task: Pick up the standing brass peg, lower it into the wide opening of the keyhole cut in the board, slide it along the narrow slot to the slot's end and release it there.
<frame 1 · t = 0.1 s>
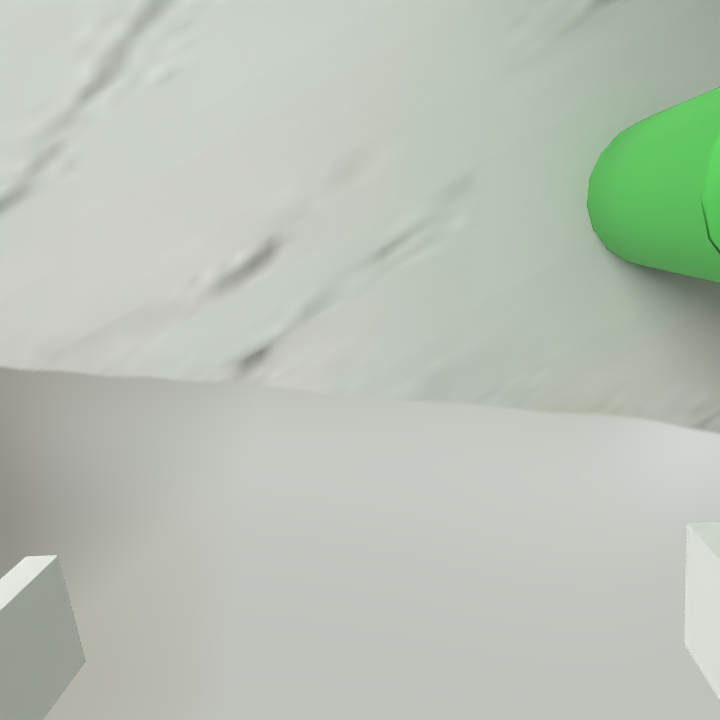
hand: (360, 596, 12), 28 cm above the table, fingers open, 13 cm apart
bottle: (655, 193, 36), on the table
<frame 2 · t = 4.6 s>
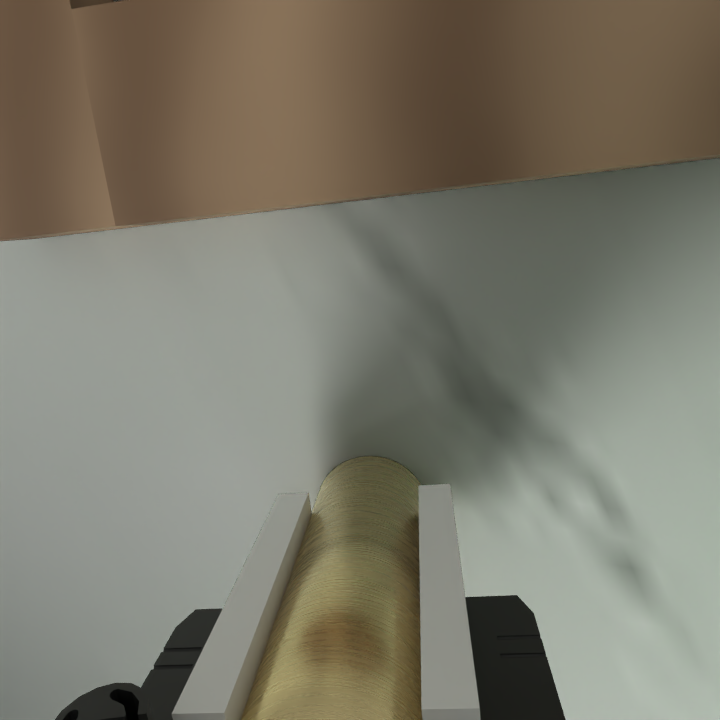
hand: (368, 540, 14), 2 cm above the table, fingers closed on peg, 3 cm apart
peg: (371, 507, 16), on the table, touching gripper
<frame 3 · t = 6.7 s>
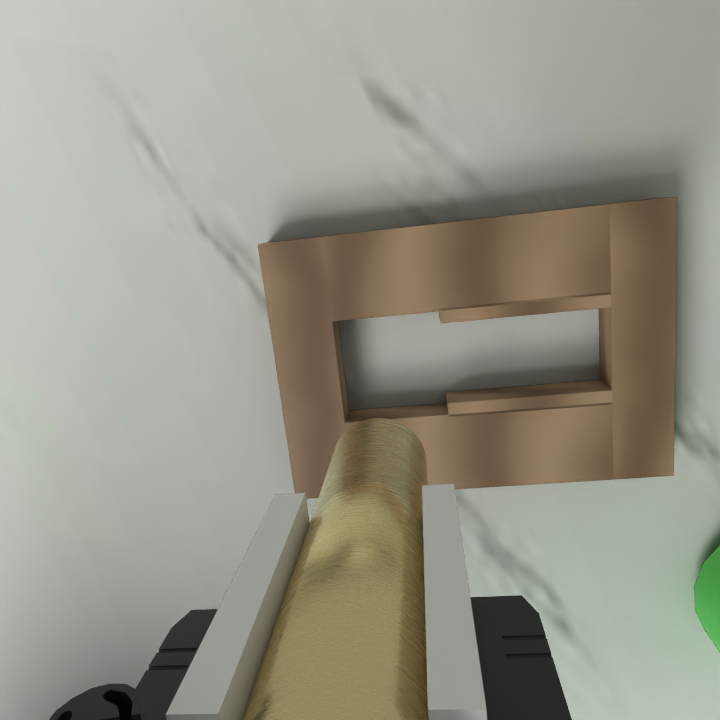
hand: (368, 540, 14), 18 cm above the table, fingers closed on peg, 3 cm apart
keyhole board: (465, 352, 32), on the table
peg: (379, 462, 19), point 14 cm above the table, touching gripper
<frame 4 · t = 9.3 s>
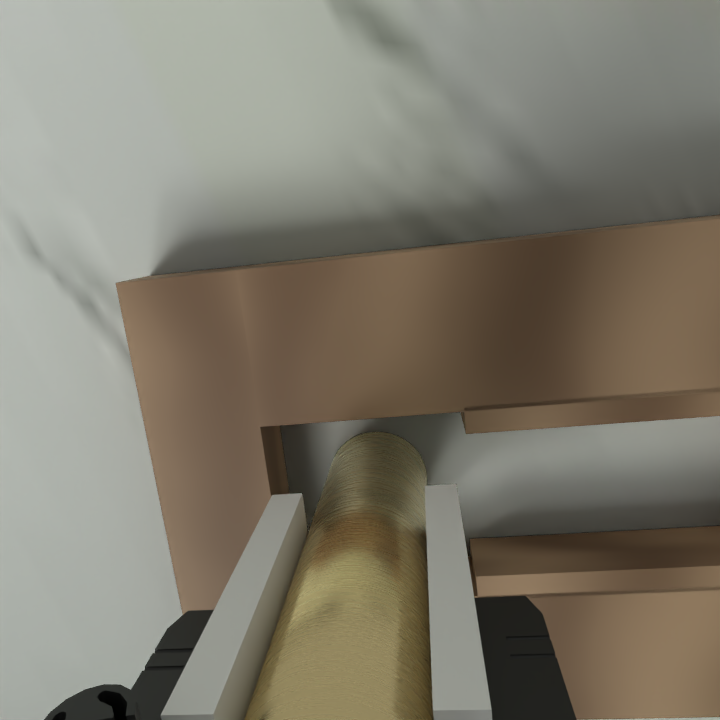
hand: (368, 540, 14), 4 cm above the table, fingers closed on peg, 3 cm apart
keyhole board: (506, 473, 18), on the table
peg: (378, 477, 18), resting in keyhole board, touching gripper
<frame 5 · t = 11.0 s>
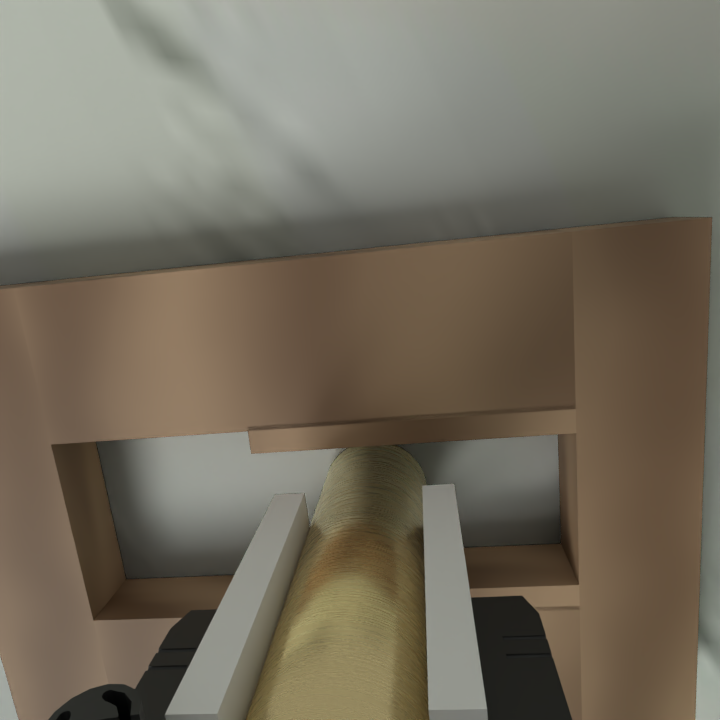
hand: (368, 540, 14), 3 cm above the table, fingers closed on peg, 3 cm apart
keyhole board: (319, 490, 18), on the table
peg: (375, 488, 17), resting in keyhole board, touching gripper
when the fingers open (3 cm above the table, at t = 12.6 s): peg stays where it is, resting in keyhole board.
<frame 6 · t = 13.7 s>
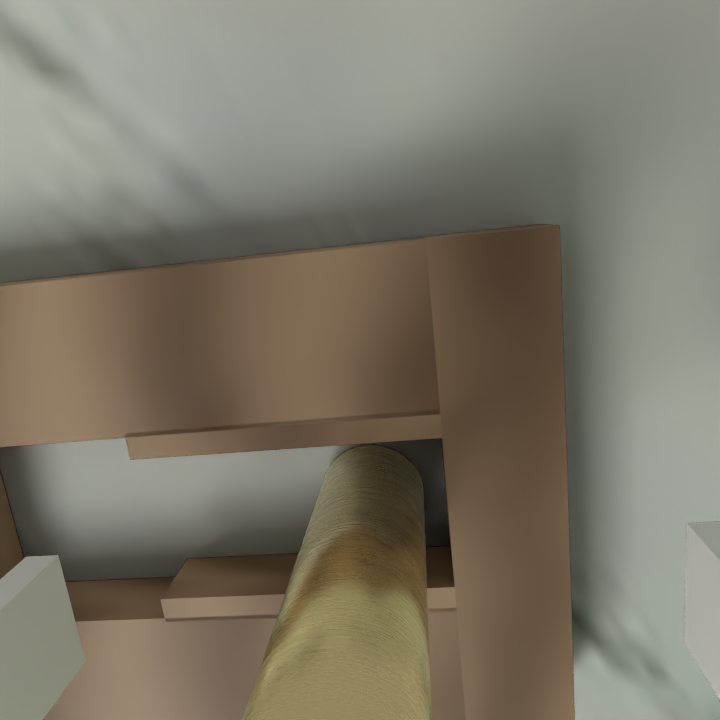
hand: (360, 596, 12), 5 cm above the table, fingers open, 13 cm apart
keyhole board: (213, 495, 18), on the table
peg: (372, 492, 17), resting in keyhole board
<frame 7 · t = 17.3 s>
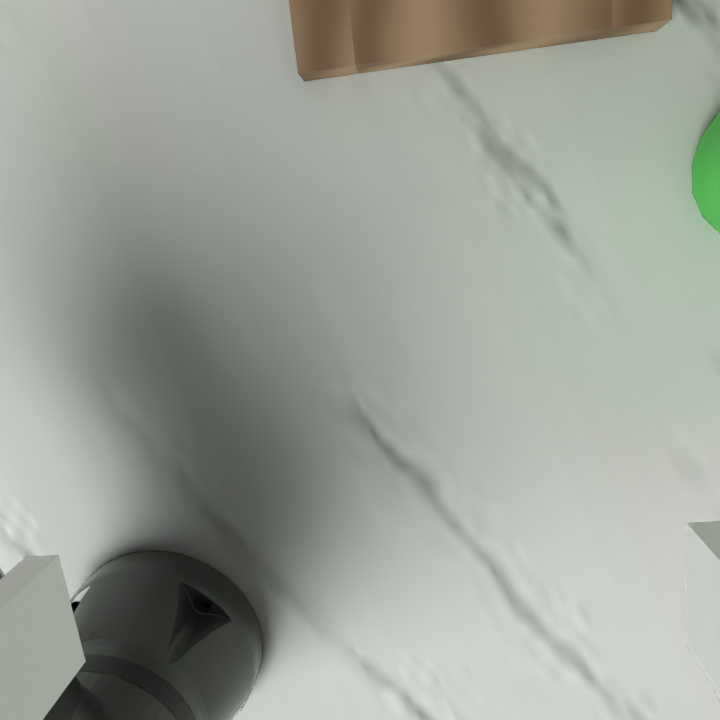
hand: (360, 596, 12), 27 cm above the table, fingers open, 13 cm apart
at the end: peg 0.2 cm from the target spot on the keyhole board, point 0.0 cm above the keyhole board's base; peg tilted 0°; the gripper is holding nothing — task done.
